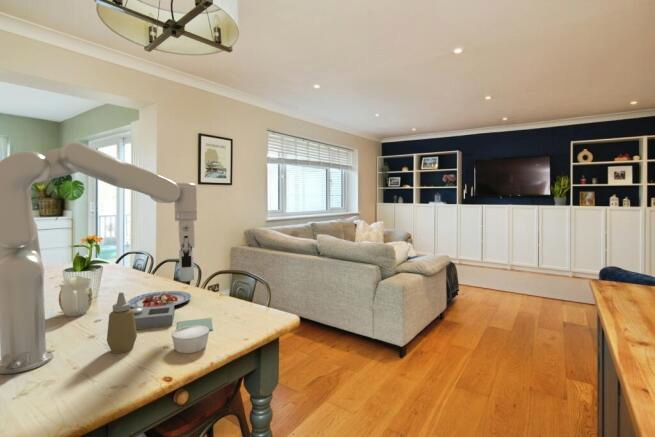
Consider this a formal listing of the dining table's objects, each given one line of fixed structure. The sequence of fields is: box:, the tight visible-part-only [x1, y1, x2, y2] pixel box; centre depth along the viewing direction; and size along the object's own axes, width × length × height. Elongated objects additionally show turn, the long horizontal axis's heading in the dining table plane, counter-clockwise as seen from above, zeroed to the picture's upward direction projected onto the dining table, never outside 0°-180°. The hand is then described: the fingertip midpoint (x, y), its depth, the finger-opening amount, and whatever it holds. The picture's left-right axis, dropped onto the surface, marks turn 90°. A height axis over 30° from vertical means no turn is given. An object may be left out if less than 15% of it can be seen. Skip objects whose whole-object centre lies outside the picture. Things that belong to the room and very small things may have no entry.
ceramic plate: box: [127, 290, 192, 309], centre depth 152 cm, size 26×26×3 cm
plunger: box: [131, 307, 143, 315], centre depth 126 cm, size 4×4×4 cm
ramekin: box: [171, 325, 210, 354], centre depth 107 cm, size 11×11×5 cm
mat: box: [176, 317, 214, 332], centre depth 125 cm, size 12×12×1 cm
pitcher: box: [58, 275, 94, 317], centre depth 135 cm, size 11×18×14 cm, turn 34°
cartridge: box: [178, 246, 195, 282], centre depth 124 cm, size 5×5×12 cm
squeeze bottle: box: [106, 292, 138, 354], centre depth 105 cm, size 8×8×18 cm
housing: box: [134, 305, 175, 330], centre depth 128 cm, size 16×12×4 cm
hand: (186, 265), depth 124 cm, fingers closed on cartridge, 5 cm apart
